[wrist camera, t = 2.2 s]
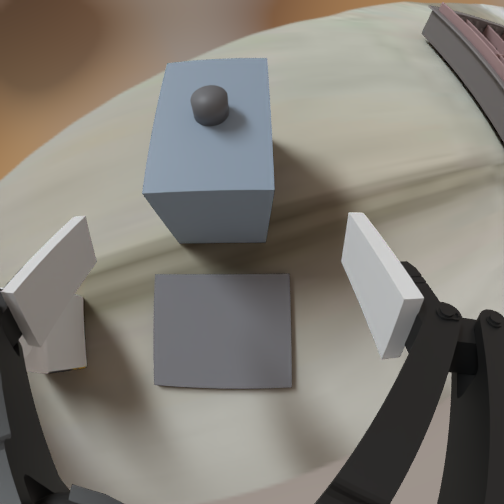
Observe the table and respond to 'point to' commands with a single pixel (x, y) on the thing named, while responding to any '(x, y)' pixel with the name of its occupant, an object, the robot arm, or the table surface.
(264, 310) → the mat
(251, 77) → the cover
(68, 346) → the medicine bottle
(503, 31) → the organizer tray
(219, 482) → the table surface
